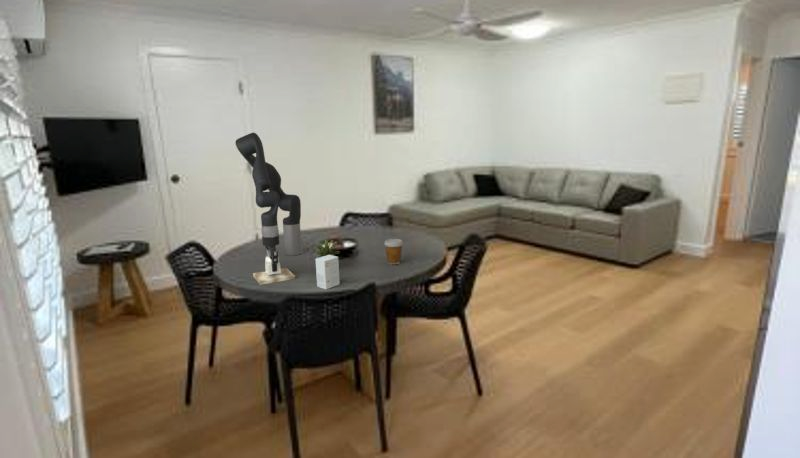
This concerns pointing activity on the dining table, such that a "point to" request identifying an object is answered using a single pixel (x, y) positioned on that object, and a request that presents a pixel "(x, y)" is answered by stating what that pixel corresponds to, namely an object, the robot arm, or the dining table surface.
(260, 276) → the dial board
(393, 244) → the disposable coffee cup
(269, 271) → the knob
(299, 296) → the dining table surface
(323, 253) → the house plant
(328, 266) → the small box
